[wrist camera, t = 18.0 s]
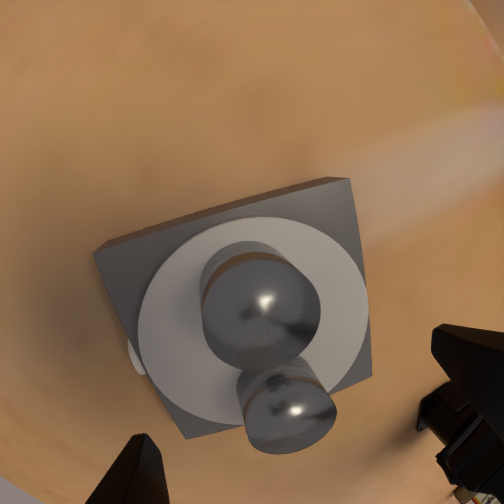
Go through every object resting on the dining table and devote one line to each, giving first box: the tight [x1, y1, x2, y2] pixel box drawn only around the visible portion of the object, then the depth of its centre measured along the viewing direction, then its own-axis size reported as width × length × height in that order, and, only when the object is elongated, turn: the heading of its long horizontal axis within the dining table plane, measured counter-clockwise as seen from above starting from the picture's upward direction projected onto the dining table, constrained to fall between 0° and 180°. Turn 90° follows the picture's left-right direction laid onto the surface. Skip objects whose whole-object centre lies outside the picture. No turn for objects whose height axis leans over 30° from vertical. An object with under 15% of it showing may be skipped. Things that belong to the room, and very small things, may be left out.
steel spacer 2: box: [236, 355, 337, 454], centre depth 16 cm, size 5×5×4 cm
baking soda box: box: [471, 493, 500, 504], centre depth 47 cm, size 10×6×16 cm
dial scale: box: [93, 177, 372, 439], centre depth 19 cm, size 15×16×4 cm
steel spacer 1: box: [199, 241, 321, 371], centre depth 14 cm, size 5×5×4 cm
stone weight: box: [454, 487, 478, 504], centre depth 44 cm, size 15×7×7 cm, turn 136°
